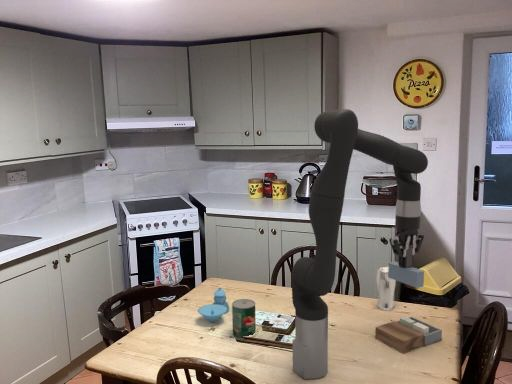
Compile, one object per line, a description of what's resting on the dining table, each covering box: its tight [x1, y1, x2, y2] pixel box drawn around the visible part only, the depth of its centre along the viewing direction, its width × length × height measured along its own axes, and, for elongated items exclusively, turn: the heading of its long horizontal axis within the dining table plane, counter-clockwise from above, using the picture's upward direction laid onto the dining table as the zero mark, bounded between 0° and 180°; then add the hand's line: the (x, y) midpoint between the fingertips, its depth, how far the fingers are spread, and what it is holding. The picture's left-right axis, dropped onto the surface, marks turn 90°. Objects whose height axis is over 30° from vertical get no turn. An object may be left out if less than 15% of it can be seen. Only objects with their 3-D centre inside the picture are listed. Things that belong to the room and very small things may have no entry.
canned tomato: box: [231, 298, 257, 340], centre depth 159 cm, size 8×8×11 cm
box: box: [395, 316, 443, 347], centre depth 157 cm, size 8×13×4 cm, turn 30°
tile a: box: [412, 322, 429, 335], centre depth 153 cm, size 4×4×2 cm
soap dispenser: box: [197, 287, 230, 324], centre depth 174 cm, size 18×10×9 cm, turn 167°
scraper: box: [387, 245, 425, 289], centre depth 151 cm, size 3×12×12 cm, turn 30°
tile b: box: [399, 316, 416, 329], centre depth 158 cm, size 4×4×2 cm
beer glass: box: [376, 266, 397, 311], centre depth 180 cm, size 7×7×15 cm
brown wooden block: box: [374, 320, 424, 354], centre depth 152 cm, size 9×12×4 cm
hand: (405, 266), depth 152 cm, fingers closed on scraper, 2 cm apart
